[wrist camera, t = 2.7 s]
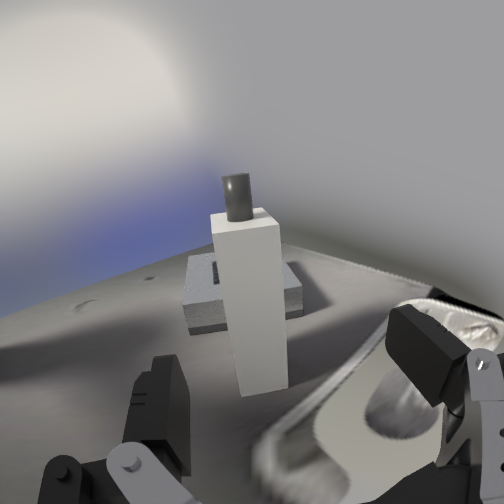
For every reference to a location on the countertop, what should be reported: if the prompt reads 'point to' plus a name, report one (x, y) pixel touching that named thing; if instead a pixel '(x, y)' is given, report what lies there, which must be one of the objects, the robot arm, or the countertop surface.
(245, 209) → the plug
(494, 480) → the robot arm
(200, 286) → the socket box
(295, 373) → the countertop surface
